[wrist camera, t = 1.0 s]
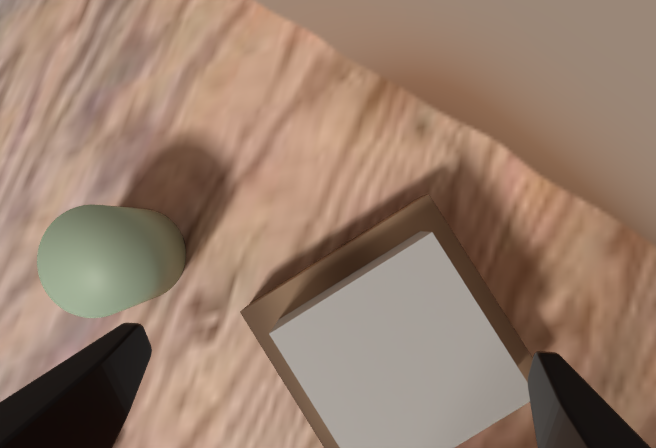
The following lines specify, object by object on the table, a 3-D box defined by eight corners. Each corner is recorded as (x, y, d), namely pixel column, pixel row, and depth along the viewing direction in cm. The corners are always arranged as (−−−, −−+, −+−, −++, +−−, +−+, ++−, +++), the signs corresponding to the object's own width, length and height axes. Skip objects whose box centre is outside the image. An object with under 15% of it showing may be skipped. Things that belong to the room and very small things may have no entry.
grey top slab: (367, 462, 23) (371, 498, 20) (278, 319, 23) (269, 333, 20) (510, 374, 23) (537, 397, 20) (419, 231, 23) (432, 232, 20)
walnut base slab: (355, 469, 26) (357, 502, 23) (251, 301, 26) (239, 312, 23) (525, 366, 25) (549, 385, 22) (418, 197, 26) (428, 193, 23)
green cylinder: (126, 316, 26) (74, 339, 21) (79, 239, 26) (16, 243, 21) (203, 268, 25) (169, 279, 20) (155, 191, 26) (110, 183, 20)
